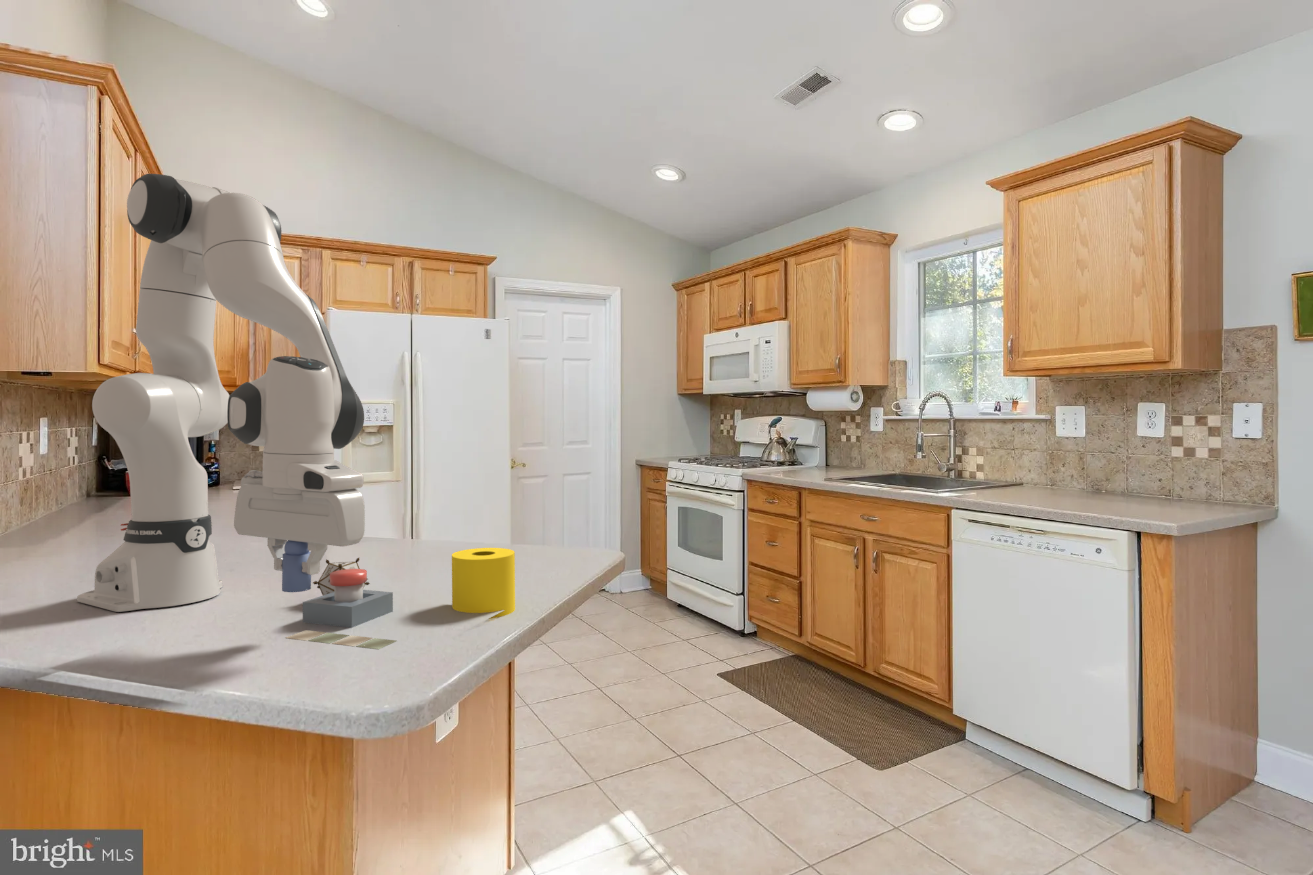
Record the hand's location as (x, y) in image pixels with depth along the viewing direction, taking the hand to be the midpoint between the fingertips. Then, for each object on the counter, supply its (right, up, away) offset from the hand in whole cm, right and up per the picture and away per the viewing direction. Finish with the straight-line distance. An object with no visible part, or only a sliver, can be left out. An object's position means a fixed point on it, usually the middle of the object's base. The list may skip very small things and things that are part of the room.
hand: (296, 572), depth 98 cm
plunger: (+3, -9, +10) cm, 14 cm away
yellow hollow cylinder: (+22, -10, +17) cm, 29 cm away
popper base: (+3, -10, +10) cm, 14 cm away
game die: (-2, -10, +19) cm, 22 cm away
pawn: (0, -2, 0) cm, 2 cm away
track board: (+7, -10, -1) cm, 12 cm away
